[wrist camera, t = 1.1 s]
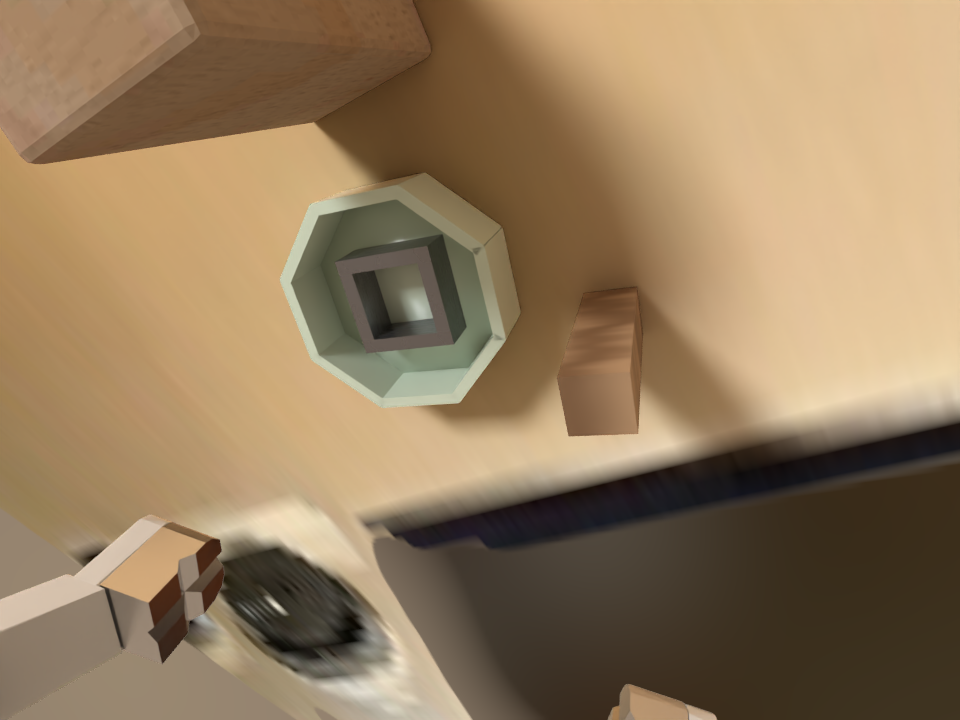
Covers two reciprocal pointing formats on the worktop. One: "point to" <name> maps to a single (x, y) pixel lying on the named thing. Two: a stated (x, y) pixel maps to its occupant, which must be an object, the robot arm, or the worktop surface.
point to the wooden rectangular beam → (603, 365)
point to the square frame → (371, 305)
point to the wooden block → (188, 68)
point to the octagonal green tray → (401, 289)
